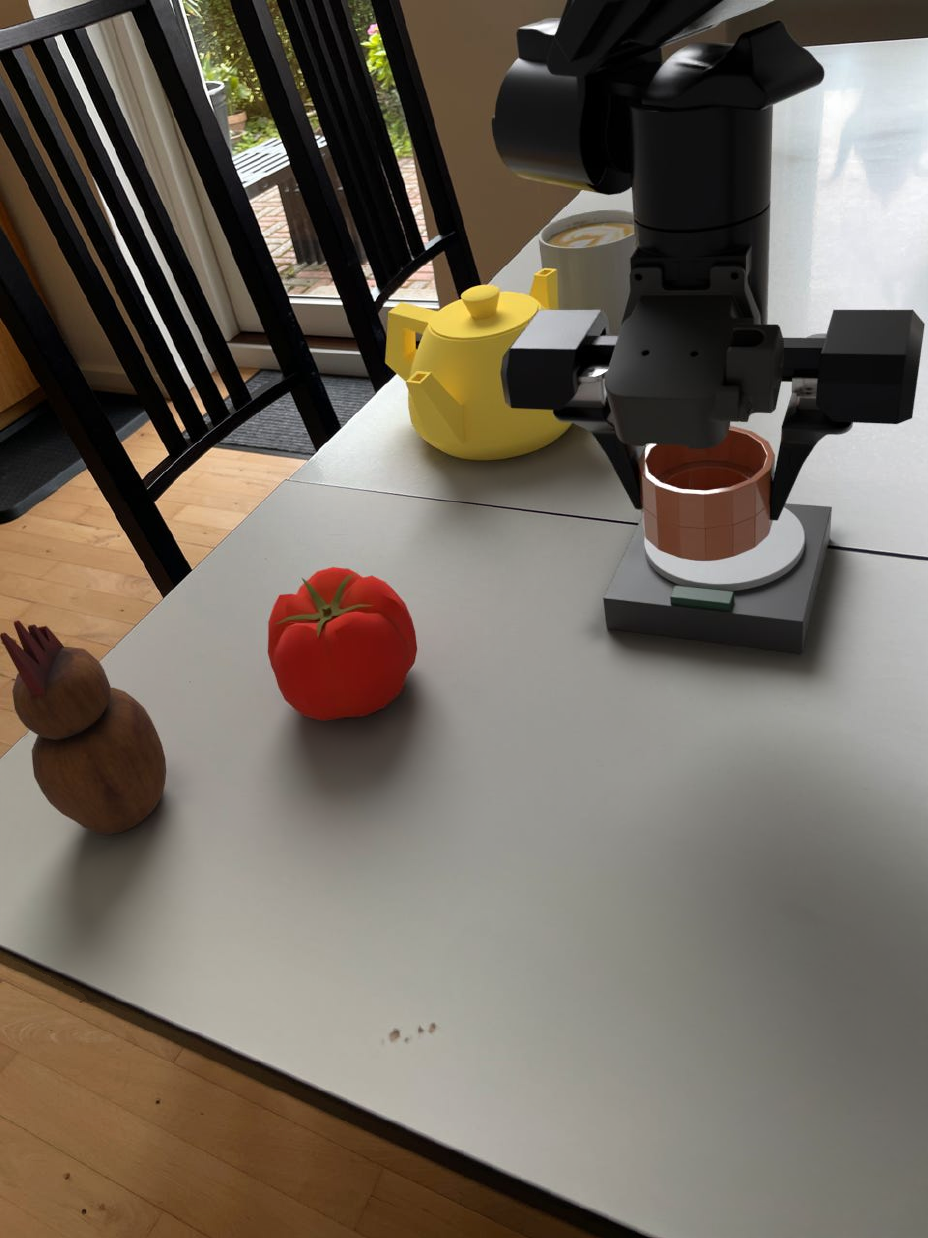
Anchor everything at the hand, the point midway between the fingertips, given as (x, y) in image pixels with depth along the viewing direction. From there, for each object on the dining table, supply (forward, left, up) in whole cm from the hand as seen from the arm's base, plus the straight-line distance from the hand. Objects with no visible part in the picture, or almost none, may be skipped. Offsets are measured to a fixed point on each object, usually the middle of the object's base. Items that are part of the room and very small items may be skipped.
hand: (706, 510), depth 52 cm
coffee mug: (+19, -46, -12) cm, 51 cm away
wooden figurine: (+30, +19, -12) cm, 37 cm away
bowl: (0, 0, -1) cm, 1 cm away
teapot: (+24, -27, -12) cm, 38 cm away
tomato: (+21, +7, -12) cm, 25 cm away
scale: (+1, -8, -11) cm, 14 cm away
